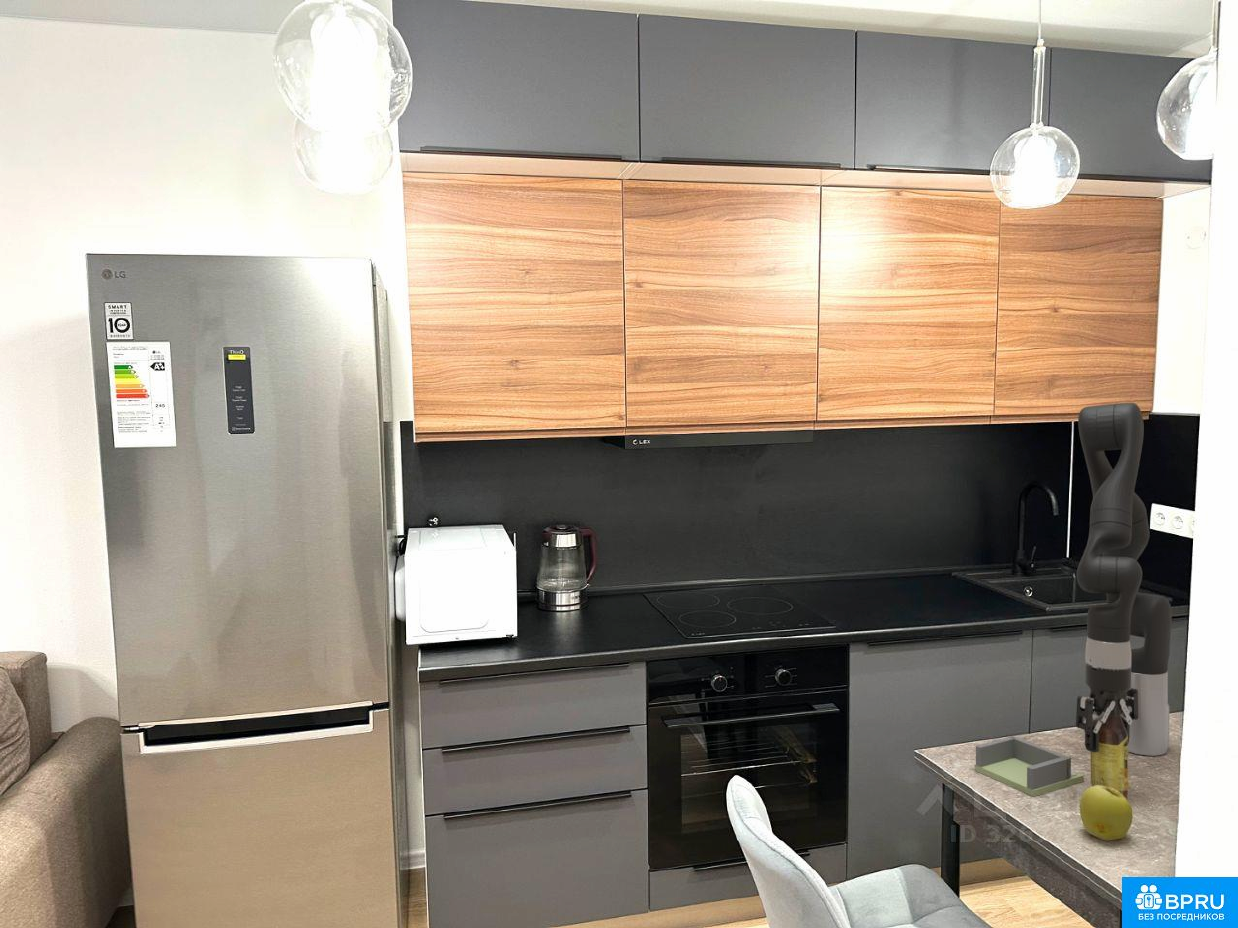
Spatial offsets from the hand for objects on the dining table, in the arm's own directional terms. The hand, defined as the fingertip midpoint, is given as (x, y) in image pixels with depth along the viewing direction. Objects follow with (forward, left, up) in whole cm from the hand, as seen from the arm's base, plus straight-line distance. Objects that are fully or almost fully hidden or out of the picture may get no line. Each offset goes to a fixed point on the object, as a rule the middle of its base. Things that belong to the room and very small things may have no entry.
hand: (1107, 746), depth 166 cm
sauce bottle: (0, 0, -9) cm, 9 cm away
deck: (+6, -13, -9) cm, 17 cm away
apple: (+15, +10, -9) cm, 20 cm away
